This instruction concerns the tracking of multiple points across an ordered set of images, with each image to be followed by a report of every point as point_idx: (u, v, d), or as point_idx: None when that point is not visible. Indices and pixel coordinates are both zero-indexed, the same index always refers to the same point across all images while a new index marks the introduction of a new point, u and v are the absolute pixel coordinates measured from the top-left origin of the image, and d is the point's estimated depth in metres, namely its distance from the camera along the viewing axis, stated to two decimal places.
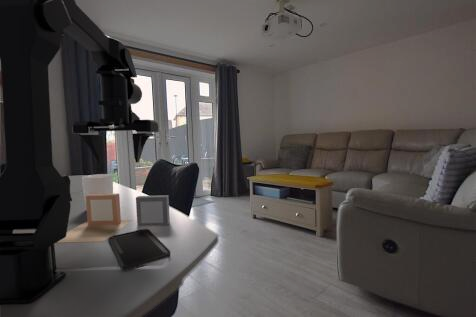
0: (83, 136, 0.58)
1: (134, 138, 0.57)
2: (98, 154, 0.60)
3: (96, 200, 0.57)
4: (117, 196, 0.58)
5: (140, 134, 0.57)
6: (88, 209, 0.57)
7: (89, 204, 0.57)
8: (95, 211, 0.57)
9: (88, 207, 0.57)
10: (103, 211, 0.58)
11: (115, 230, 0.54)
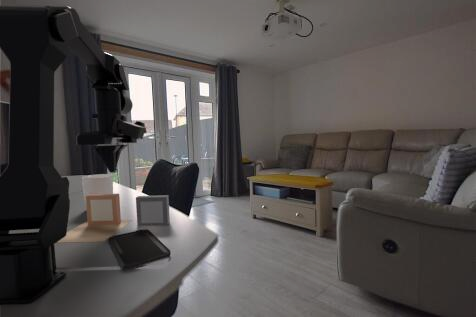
0: None
1: None
2: None
3: (96, 200, 0.57)
4: (117, 196, 0.58)
5: None
6: (88, 209, 0.57)
7: (89, 204, 0.57)
8: (95, 211, 0.57)
9: (88, 207, 0.57)
10: (103, 211, 0.58)
11: (115, 230, 0.54)
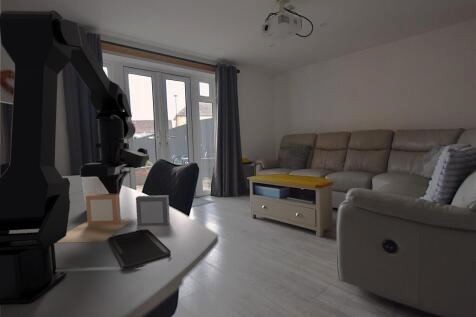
0: None
1: None
2: None
3: (96, 200, 0.57)
4: (117, 196, 0.58)
5: None
6: (88, 209, 0.57)
7: (89, 204, 0.57)
8: (95, 211, 0.57)
9: (88, 207, 0.57)
10: (103, 211, 0.58)
11: (115, 230, 0.54)
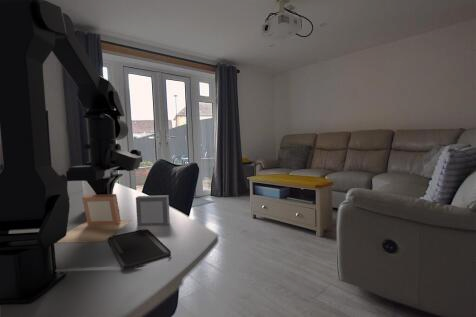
0: None
1: None
2: None
3: (93, 202, 0.56)
4: (114, 197, 0.57)
5: None
6: (86, 210, 0.57)
7: (87, 206, 0.56)
8: (93, 212, 0.57)
9: (86, 208, 0.57)
10: (102, 212, 0.57)
11: (115, 230, 0.54)
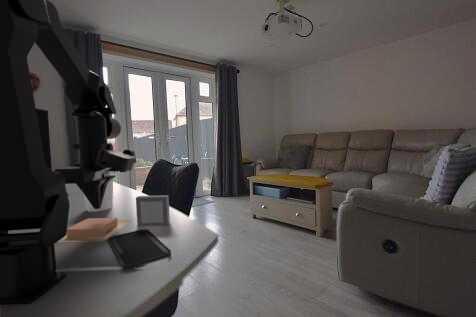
0: None
1: None
2: None
3: None
4: (102, 232, 0.51)
5: None
6: None
7: None
8: None
9: None
10: None
11: (115, 230, 0.54)
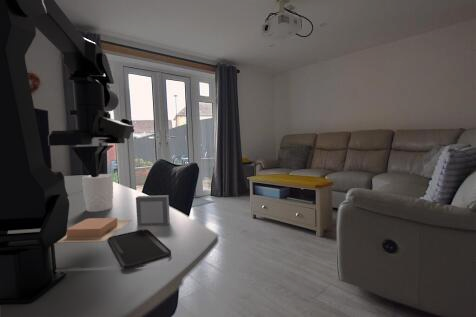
0: None
1: None
2: None
3: None
4: (102, 232, 0.51)
5: None
6: None
7: None
8: None
9: None
10: None
11: (115, 230, 0.54)
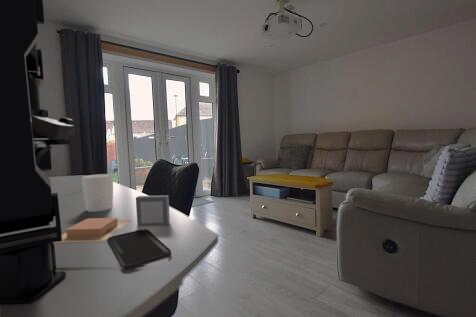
0: None
1: None
2: None
3: None
4: (102, 232, 0.51)
5: None
6: None
7: None
8: None
9: None
10: None
11: (115, 230, 0.54)
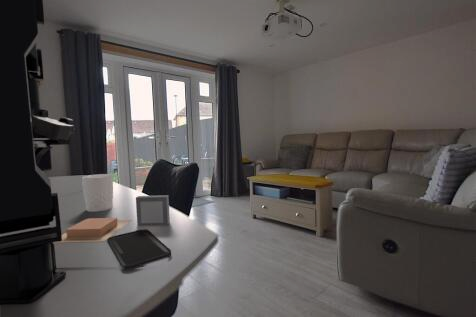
0: None
1: None
2: None
3: None
4: (102, 232, 0.51)
5: None
6: None
7: None
8: None
9: None
10: None
11: (115, 230, 0.54)
